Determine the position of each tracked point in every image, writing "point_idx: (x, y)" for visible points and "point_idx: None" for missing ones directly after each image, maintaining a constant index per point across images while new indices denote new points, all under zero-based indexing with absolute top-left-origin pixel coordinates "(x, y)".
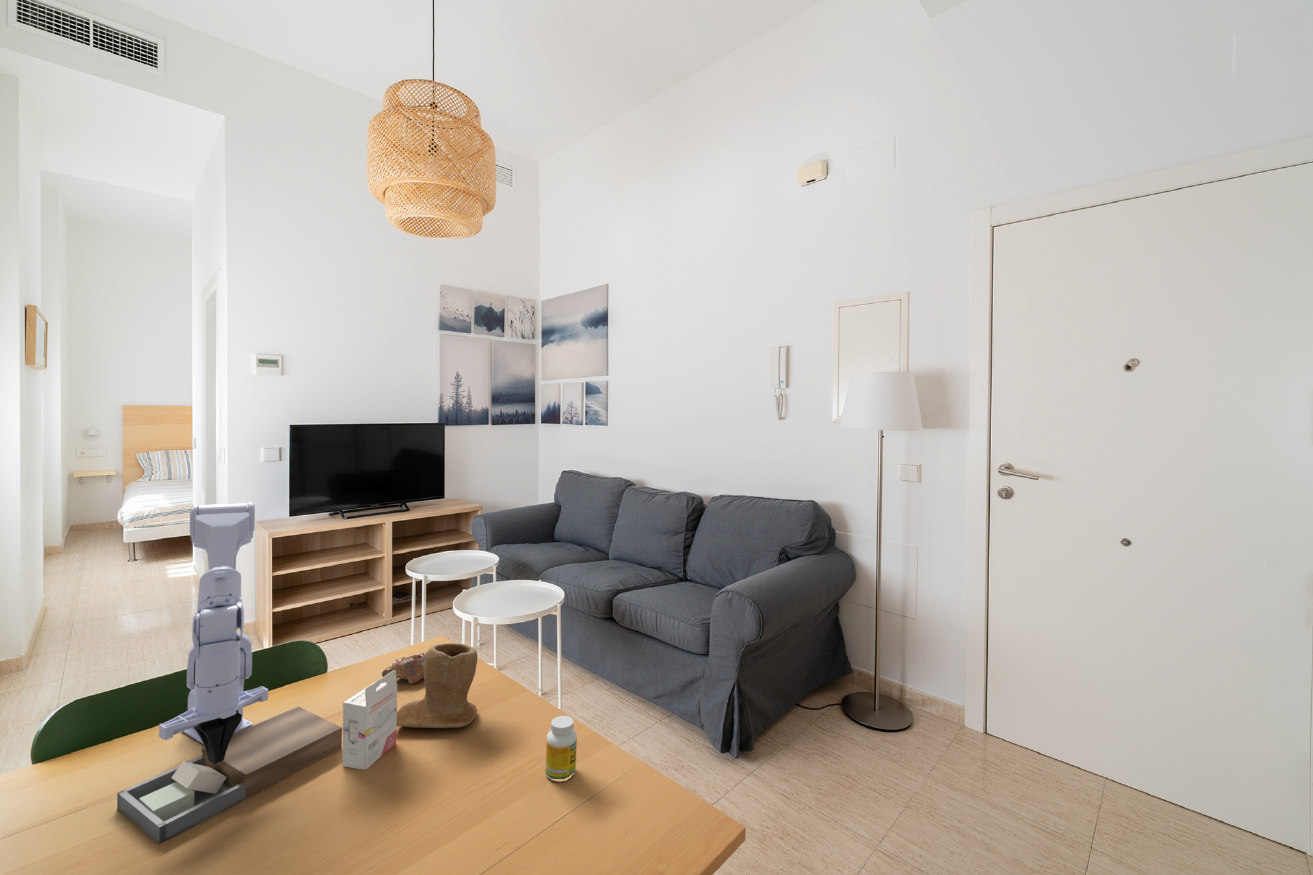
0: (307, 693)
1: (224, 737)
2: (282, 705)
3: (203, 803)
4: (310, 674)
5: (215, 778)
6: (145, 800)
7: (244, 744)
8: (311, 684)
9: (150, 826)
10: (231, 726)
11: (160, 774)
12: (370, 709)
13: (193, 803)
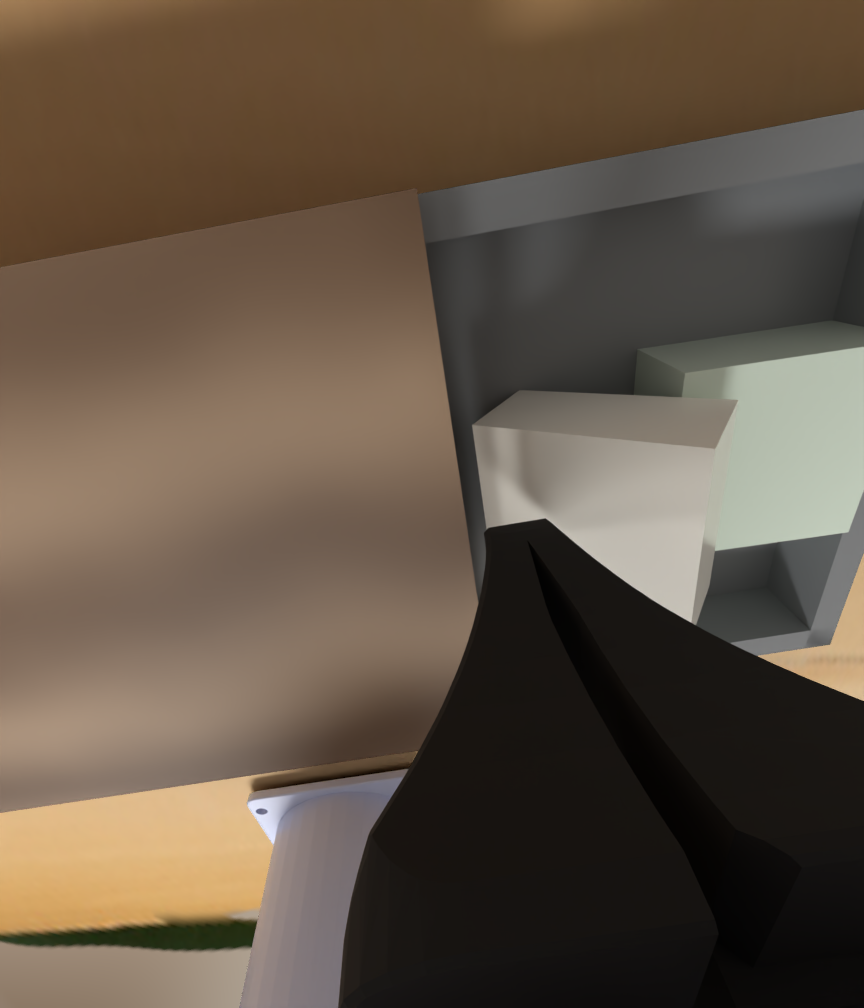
0: (32, 867)
1: (562, 658)
2: (131, 845)
3: (714, 169)
4: (24, 944)
5: (547, 423)
6: (853, 488)
7: (319, 641)
8: (18, 903)
9: None
10: (534, 780)
11: None
12: None
13: (652, 351)
